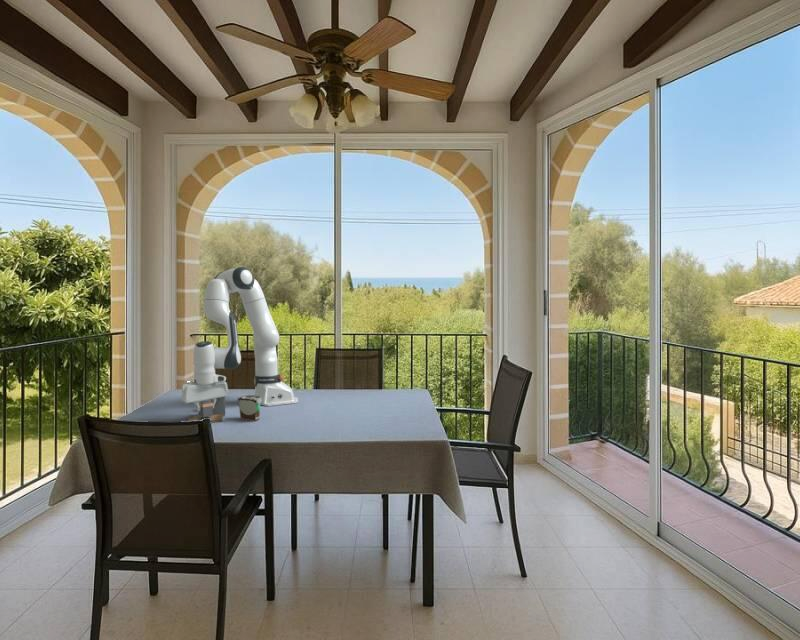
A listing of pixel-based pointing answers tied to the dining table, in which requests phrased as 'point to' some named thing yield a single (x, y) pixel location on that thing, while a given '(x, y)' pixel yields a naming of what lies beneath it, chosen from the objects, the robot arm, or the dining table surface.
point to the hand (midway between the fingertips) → (205, 409)
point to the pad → (213, 418)
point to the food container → (249, 407)
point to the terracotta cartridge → (206, 409)
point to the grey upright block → (219, 406)
